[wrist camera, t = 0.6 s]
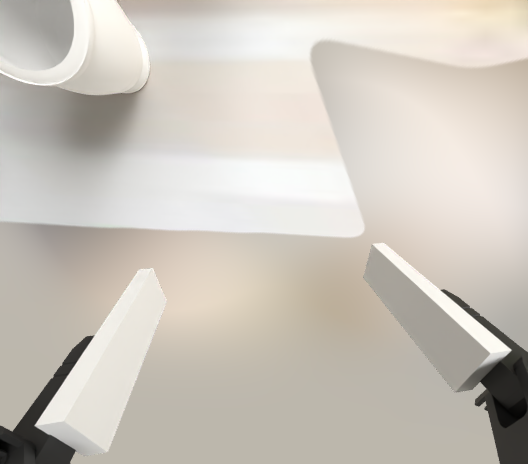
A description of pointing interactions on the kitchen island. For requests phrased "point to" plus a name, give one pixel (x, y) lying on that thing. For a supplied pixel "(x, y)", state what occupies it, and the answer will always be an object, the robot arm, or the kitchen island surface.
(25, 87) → the kitchen island surface
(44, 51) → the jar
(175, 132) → the kitchen island surface
